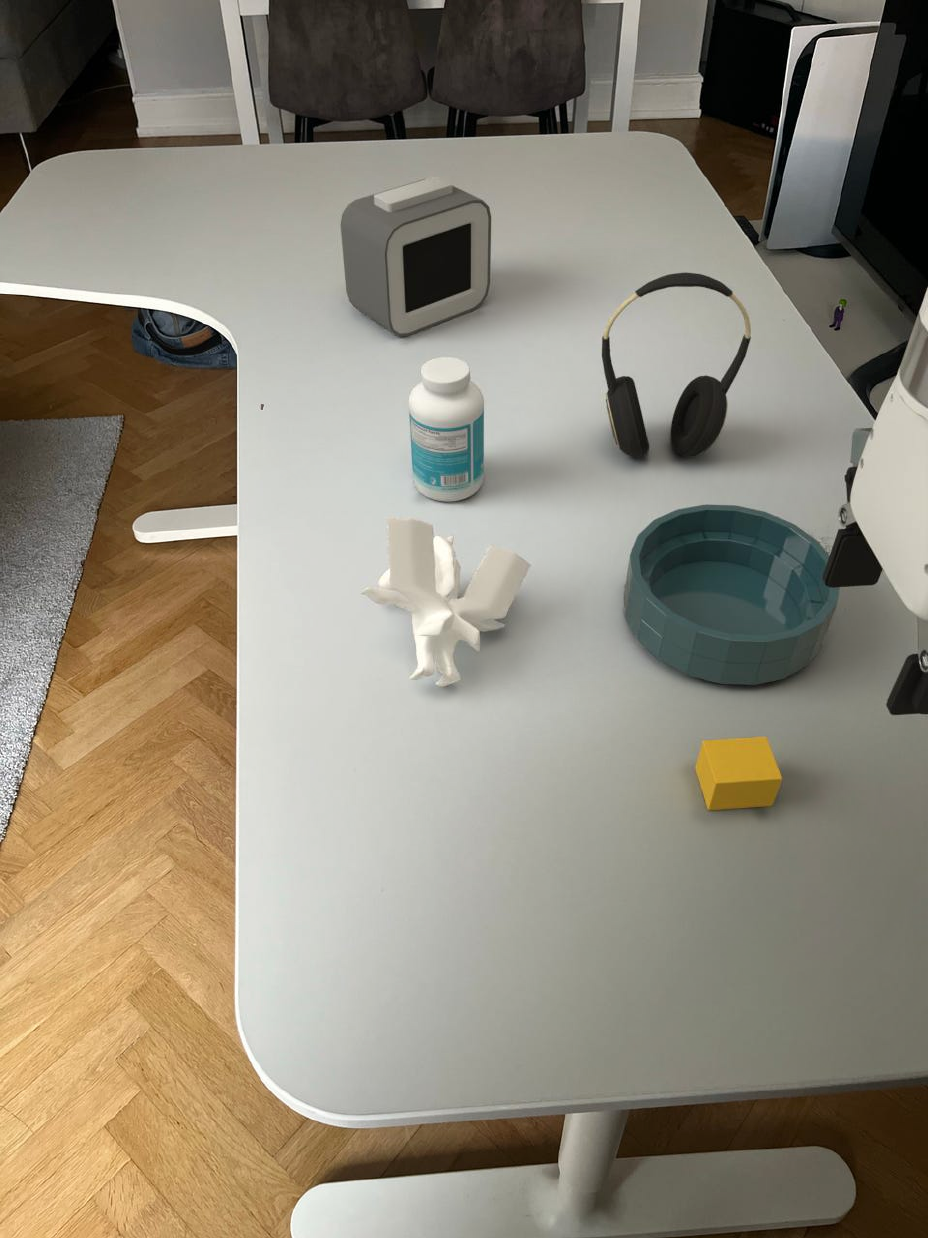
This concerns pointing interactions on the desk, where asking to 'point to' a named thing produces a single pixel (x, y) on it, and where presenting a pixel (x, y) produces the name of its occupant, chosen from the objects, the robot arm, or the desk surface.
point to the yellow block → (738, 773)
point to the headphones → (698, 403)
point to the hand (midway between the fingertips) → (880, 642)
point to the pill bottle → (447, 431)
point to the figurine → (444, 593)
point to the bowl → (729, 594)
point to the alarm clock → (417, 254)
